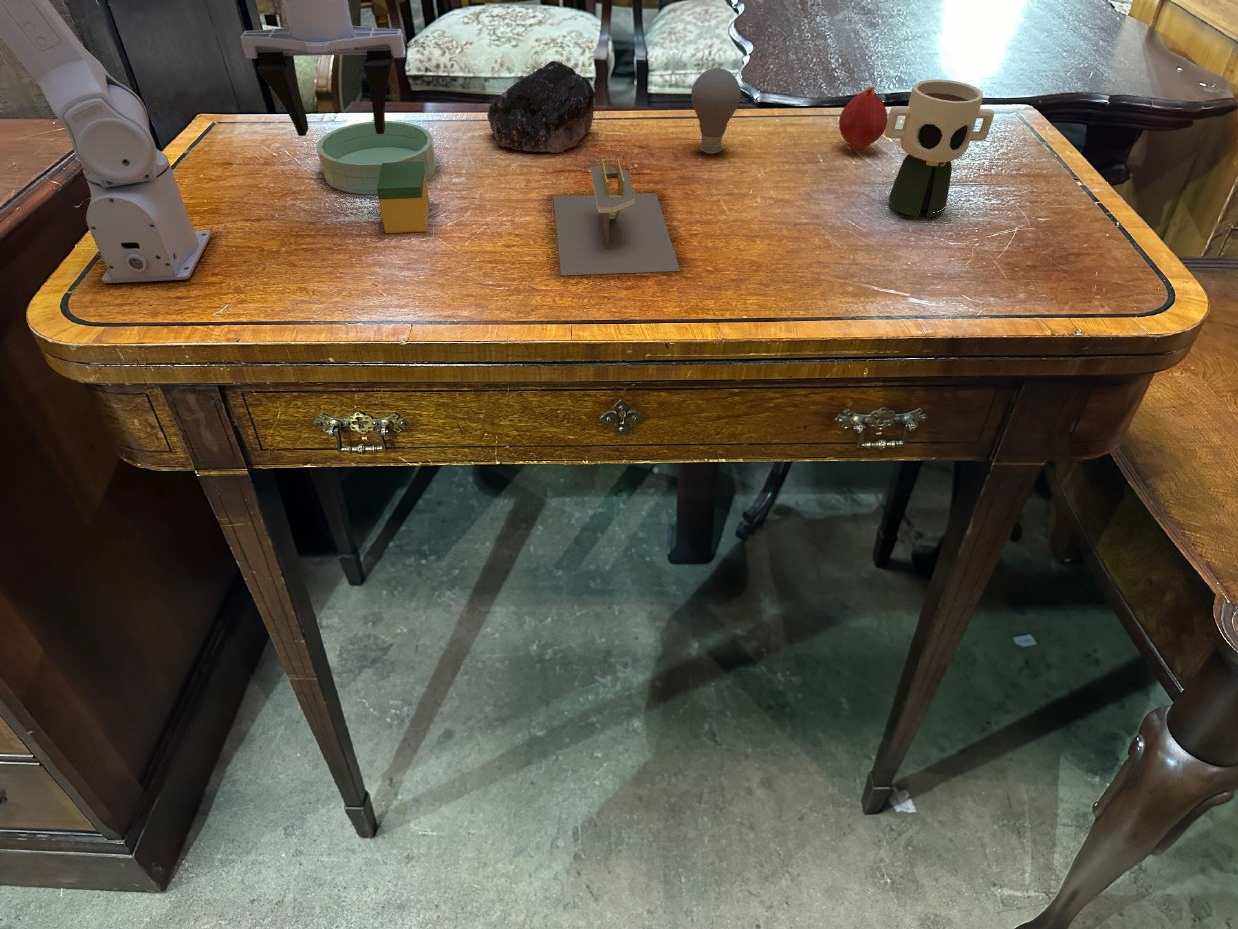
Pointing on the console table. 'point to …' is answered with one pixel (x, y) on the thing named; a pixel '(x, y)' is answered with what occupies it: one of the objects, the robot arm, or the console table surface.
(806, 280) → the console table surface
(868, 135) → the onion
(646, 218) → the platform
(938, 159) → the character mug
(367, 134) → the bowl
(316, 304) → the console table surface
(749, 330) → the console table surface
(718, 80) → the light bulb
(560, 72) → the dark rough boulder
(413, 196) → the sponge
